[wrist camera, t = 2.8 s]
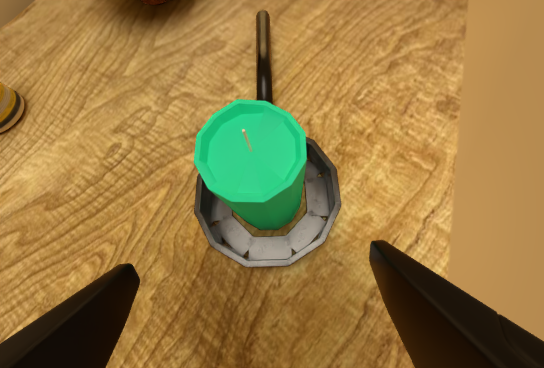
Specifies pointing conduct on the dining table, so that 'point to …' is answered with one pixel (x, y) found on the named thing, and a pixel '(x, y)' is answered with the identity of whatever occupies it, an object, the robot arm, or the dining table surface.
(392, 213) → the dining table surface
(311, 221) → the pan
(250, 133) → the candle
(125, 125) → the dining table surface
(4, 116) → the pill bottle
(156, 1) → the bowl
